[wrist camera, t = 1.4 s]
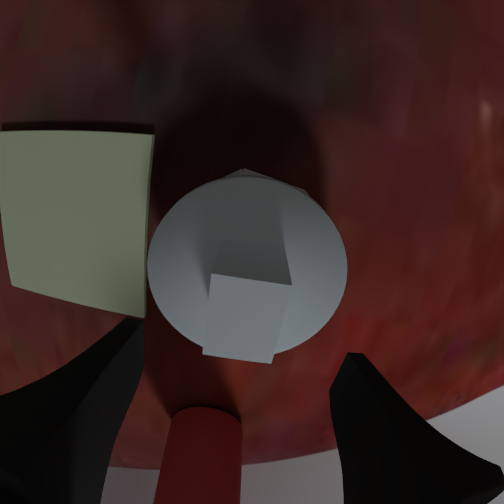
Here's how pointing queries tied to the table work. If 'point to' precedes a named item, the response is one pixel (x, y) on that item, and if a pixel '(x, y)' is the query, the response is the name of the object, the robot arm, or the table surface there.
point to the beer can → (201, 459)
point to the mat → (78, 215)
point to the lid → (247, 267)
